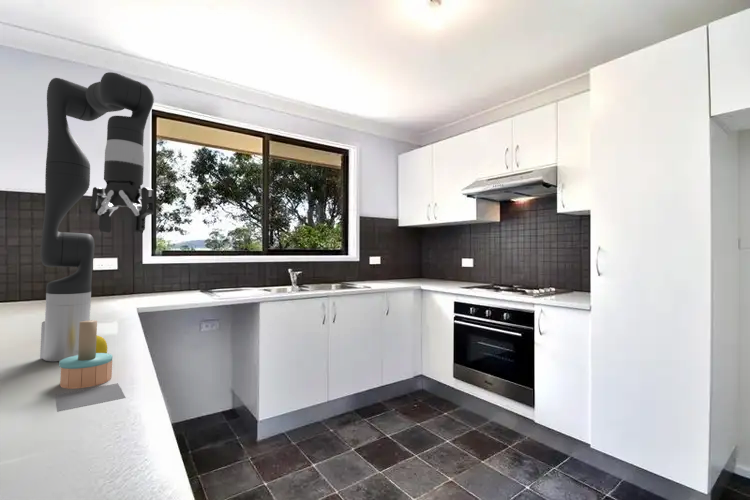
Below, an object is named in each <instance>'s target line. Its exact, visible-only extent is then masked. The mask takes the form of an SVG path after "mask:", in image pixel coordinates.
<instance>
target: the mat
mask: <svg viewBox="0 0 750 500" xmlns="http://www.w3.org/2000/svg"><path fill="white" fill-rule="evenodd" d="M55 399H56V400H55V401H56V411H57V412H58V413H59V412H64V411H68V410H73V409H78V408H81V407H82V408H83V407H87V406H92V405H97V404H103V403H107V402H111V401H117V400H121V399H126V396H125V393H124V392H123V389H122V388H121V386H120V384H119V383H112V384H107V385H106V384H105V385H100V386H93V387H88V388H85V389H84V388H82V389H78V390H77V389H76V390H72V391H67V392H60V393H56V394H55Z"/></svg>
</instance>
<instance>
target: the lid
mask: <svg viewBox="0 0 750 500" xmlns="http://www.w3.org/2000/svg"><path fill="white" fill-rule="evenodd" d="M97 330H98V320H95V319H94V320H93V319H92V320H91V319H90V320H89V321H81V322H80V324H79V347H78V355H76V356H71V357H68V358H65V359H62V360H61V361H58V363H59V364H58V366H59V368H60V369H61V368H65V369H78V368H88V367H94V366H99V365H103V364H106V363H108V362H110V361H112V362H113V354H111V353H108V352H107V353H96V337H97V336H98V334H97V333H98V331H97Z"/></svg>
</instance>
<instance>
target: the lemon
mask: <svg viewBox="0 0 750 500" xmlns="http://www.w3.org/2000/svg"><path fill="white" fill-rule="evenodd" d="M96 353H108V343H107V341H106V340H105V338H104V337H102V336H101V335H97V337H96Z"/></svg>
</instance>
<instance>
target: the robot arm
mask: <svg viewBox="0 0 750 500" xmlns="http://www.w3.org/2000/svg"><path fill="white" fill-rule="evenodd" d="M154 103H155V96H154V92H153V90H152V88H150V86H148V84H145V83H143V82H141V81H138V80H136V79H133V78H131V77H128V76H126V75H124V74H120V73H117V72H111V71H110V72H105V73H104V74H103V75H102V76H101V79H100V81H98V82H94V83H92V84H90V85H89V86H88V87H85V86H84V85H81V84H77V83H76V82H74V81H73V82H72V81H69V80H66V79H64V78H60V77H54V78H52V79H51V80H50V81H49V83H48V86H47V90H46V112H47V114H46V116H47V149H46V159H45V184H44V185H45V187H44V188H45V190H44V191H45V194H44V195H45V197H44V198H45V200H44V201H45V202H44V203H45V204H44V215H43V224H42V231H41V232H42V233H41V240H40V241H41V242H40V250H39V251H40V260H41V264H42V266H45V267H46V268H47V267H49V268H77V270H76V271H74V273H72V274H69V275H68V276H65V277H61V278H58V279H55V280H51V281H49V282H48V283H47V284H46V289H45V290H46V291H45V292H46V293H45V312H44V313H45V314H44V315H45V318H44V321H43V322H41V327H40V329H41V332H40V348H39V349H40V350H39V351H40V353H39V359H42V360H43V361H44V362H60V361H61V360H62V359H65V358H68V357H71V356H76V355H78V347H79V324H80V322H81V321H89V320H91V308H92V307H91V306H92V305H91V304H92V281H93V279H92V278H93V275H92V274H93V266H94V257H95V239H94V237H93V235H91V233H81V232H67V231H66V232H65V231H64V232H62V231H59V227H60V225H61V223H62V221H63V219H64V218H65V216H66V215H67V213H69V211H70V210H71V209H72V208H73V207H74V206H75V204H77V203H78V202H79V200H81V199H82V198H83V197H84V196H85V194H86V193H87V191H88V190H89V189H90V184H91V164H90V161H89V158H88V156H87V155H86V153H85V152H84V150H83V149H82V147H81V146H80V145H79V143H78V141H77V140H76V139H75V136H74V135H73V134H72V131H71V129H70V126H69V123H68V119H67V117H70V118H74V119H76V120H80V121H83V122H93V121H95V120H97V119H99V118H101V117H103V116H104V115H106V114H107V113H113V112H120V111H122V110H123V111H124V110H128V111H131V116H126V115H112V116H110V117H109V118H108V120H107V129H106V130H107V132H106V133H107V134H106V145H105V149H104V162H103V163H104V164H103V165H104V166H103V167H104V168H103V180H104V181H105V183H106V186H105V187H104V188H102V187H97V186H94V187H93V188H92V194H91V202H90V203H91V204H90V212H91V213H93V214H96V215H98V216H99V217H98V219H99V220H98V229H99V231H100V232H101V233H111V232H112V217H111V216H112V214H113V213H114V212H115V211H117V210H118V209H119V208H124V207H125V208H126V207H127V208H129V209H131V212H132V213H133V214H134V216H133V233H135V234H143V233H144V231H145V229H146V217H147V216H149V215H154V214H155V190H154V189H152V188H149V187H145V186H143V187H141V186H142V185H144V168H145V167H144V165H145V163H144V162H145V152H144V140H145V139H144V138H145V136H144V135H145V129H146V124H147V121H148V119H149V115H150V114H151V110H152V108H153V106H154ZM140 197H141V199H140Z"/></svg>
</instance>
